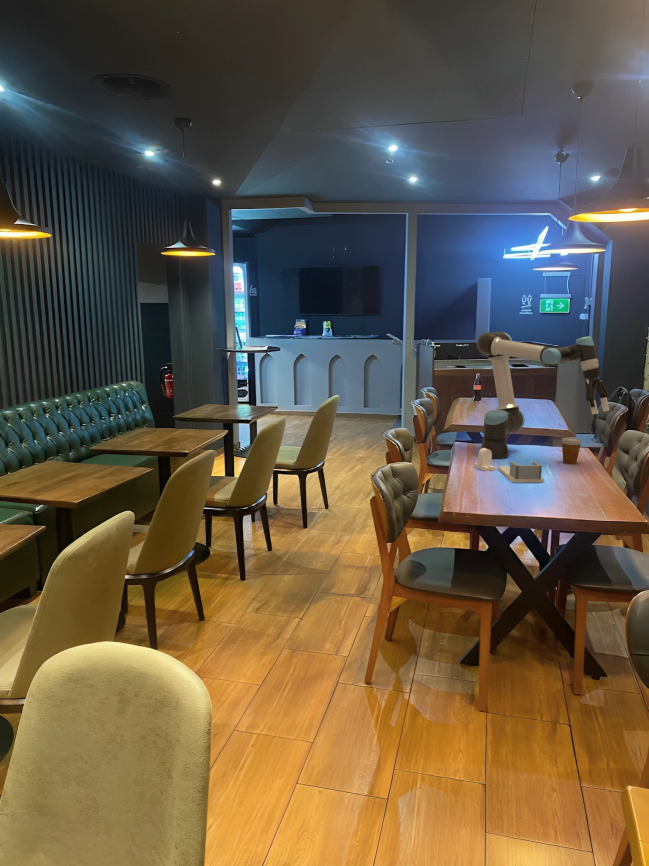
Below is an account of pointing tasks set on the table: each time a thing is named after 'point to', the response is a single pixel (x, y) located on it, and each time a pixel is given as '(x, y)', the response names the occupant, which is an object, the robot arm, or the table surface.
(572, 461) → the disposable coffee cup
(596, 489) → the table surface
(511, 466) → the dock
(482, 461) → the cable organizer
